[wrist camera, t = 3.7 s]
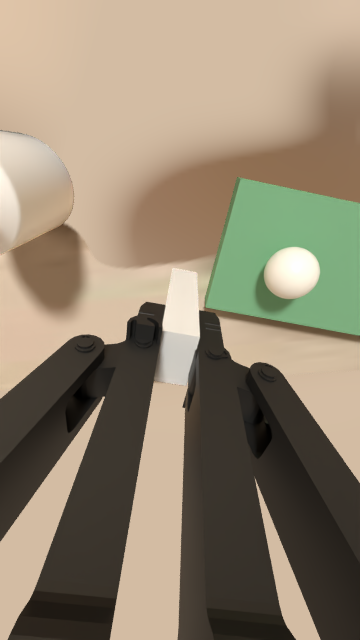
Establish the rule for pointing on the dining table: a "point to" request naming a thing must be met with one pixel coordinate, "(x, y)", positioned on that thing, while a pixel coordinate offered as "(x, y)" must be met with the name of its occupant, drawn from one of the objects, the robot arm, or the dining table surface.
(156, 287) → the dining table surface
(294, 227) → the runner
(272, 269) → the ball
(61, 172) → the pill bottle
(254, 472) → the robot arm
